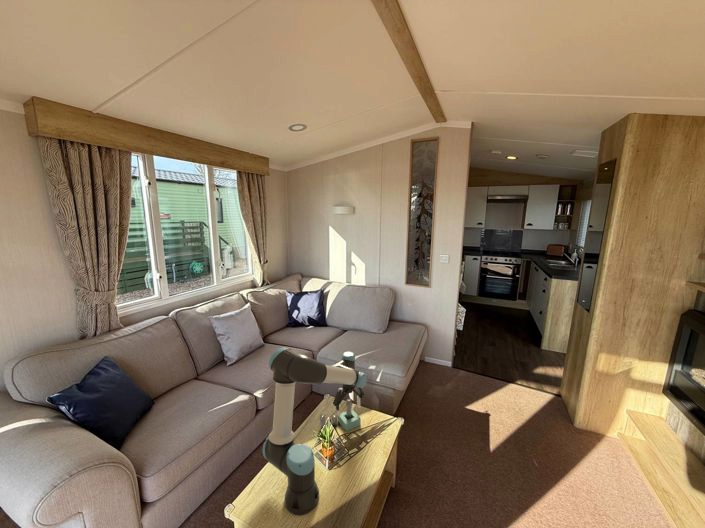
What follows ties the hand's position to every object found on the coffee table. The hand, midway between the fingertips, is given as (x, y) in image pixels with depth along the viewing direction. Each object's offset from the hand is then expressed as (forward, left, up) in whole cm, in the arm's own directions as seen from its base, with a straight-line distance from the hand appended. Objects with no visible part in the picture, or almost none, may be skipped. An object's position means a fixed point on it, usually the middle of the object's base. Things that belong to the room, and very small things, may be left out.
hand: (349, 410), depth 181 cm
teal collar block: (0, 0, -8) cm, 8 cm away
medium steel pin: (-16, +3, -8) cm, 18 cm away
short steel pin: (-8, +4, -8) cm, 12 cm away
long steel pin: (0, 0, -8) cm, 8 cm away
